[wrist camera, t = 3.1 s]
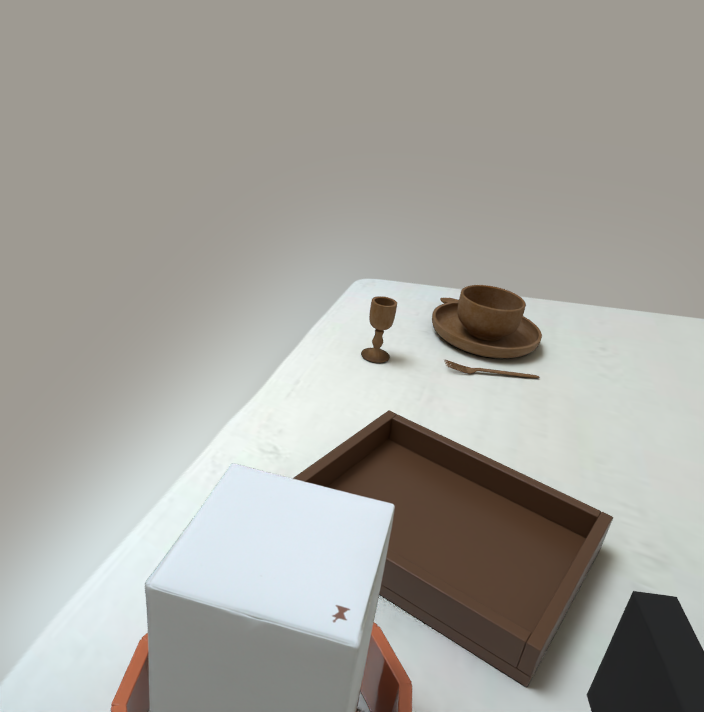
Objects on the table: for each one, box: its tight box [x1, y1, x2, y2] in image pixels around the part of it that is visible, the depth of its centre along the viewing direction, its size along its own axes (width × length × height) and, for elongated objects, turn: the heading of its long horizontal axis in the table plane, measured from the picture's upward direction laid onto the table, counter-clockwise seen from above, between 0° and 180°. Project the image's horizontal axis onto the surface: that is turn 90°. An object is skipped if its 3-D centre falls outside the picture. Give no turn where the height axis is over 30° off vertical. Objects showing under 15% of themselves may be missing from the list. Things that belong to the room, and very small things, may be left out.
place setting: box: [361, 285, 542, 378], centre depth 71 cm, size 18×20×6 cm
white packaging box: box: [145, 463, 395, 712], centre depth 27 cm, size 7×7×13 cm
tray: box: [293, 411, 613, 687], centre depth 43 cm, size 18×14×3 cm
